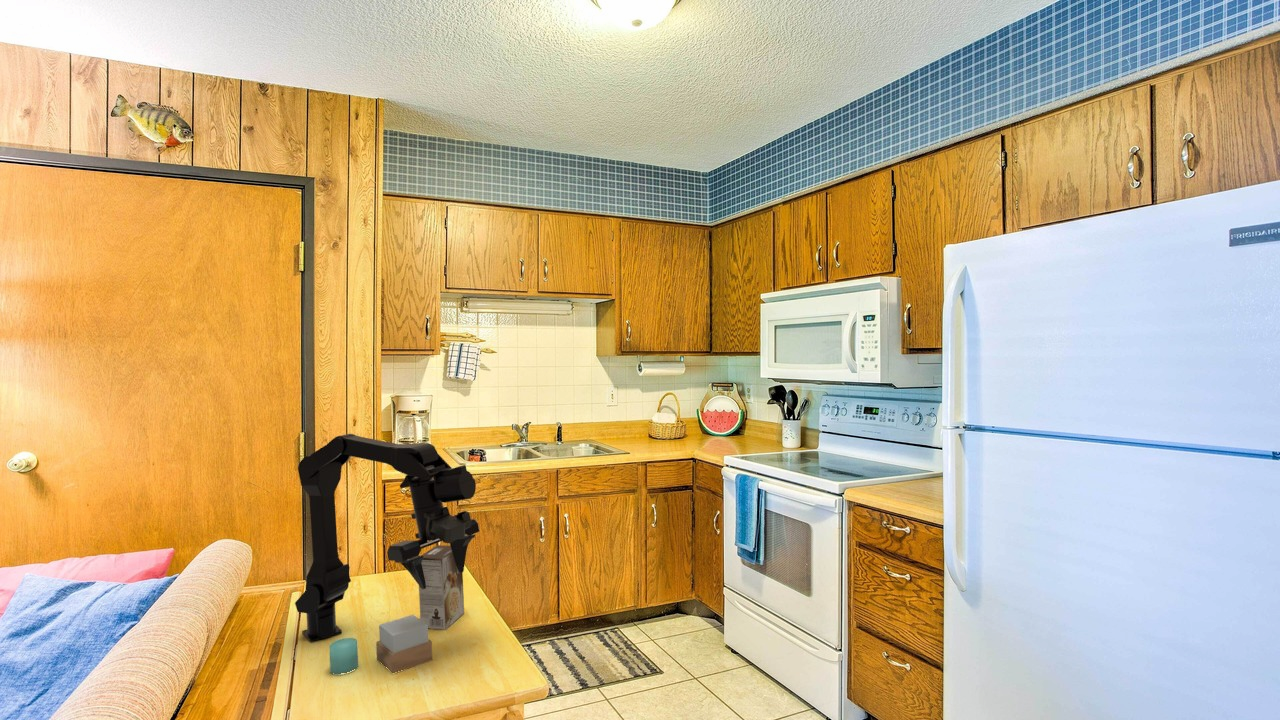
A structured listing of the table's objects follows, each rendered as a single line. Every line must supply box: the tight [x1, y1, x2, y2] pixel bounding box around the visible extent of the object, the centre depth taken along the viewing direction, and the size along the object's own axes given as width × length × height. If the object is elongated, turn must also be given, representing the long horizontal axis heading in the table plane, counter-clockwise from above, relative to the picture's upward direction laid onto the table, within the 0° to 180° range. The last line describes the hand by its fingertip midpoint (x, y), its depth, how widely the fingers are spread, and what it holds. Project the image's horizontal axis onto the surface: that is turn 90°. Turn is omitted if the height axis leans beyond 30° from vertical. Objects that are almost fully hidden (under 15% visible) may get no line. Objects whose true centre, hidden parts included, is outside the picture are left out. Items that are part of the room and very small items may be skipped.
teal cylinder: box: [329, 637, 359, 674], centre depth 132 cm, size 5×5×5 cm
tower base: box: [375, 638, 433, 674], centre depth 135 cm, size 8×8×4 cm
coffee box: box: [418, 544, 465, 630], centre depth 153 cm, size 9×6×16 cm
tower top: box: [378, 614, 429, 654], centre depth 135 cm, size 7×7×4 cm
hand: (443, 580), depth 138 cm, fingers open, 9 cm apart
